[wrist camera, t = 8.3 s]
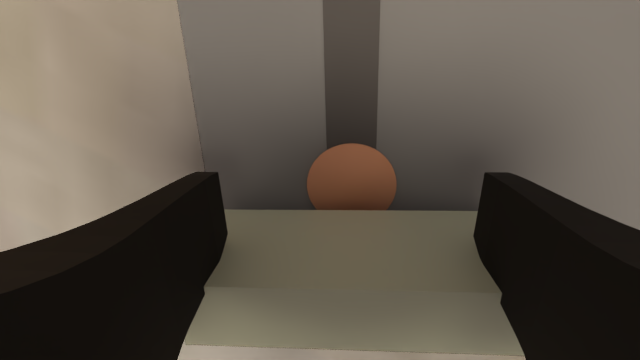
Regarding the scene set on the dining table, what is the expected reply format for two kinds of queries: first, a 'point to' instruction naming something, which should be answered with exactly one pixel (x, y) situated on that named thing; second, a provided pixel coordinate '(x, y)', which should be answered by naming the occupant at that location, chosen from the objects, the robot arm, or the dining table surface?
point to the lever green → (353, 284)
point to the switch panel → (416, 101)
